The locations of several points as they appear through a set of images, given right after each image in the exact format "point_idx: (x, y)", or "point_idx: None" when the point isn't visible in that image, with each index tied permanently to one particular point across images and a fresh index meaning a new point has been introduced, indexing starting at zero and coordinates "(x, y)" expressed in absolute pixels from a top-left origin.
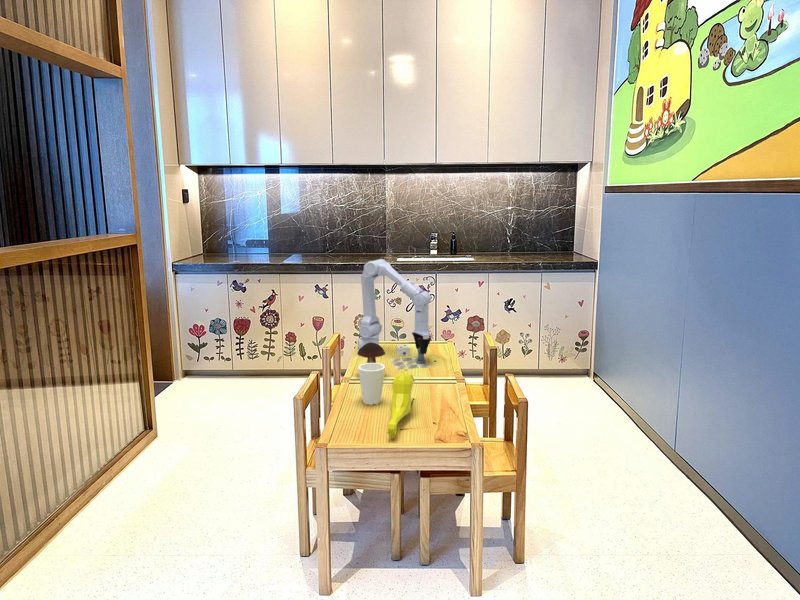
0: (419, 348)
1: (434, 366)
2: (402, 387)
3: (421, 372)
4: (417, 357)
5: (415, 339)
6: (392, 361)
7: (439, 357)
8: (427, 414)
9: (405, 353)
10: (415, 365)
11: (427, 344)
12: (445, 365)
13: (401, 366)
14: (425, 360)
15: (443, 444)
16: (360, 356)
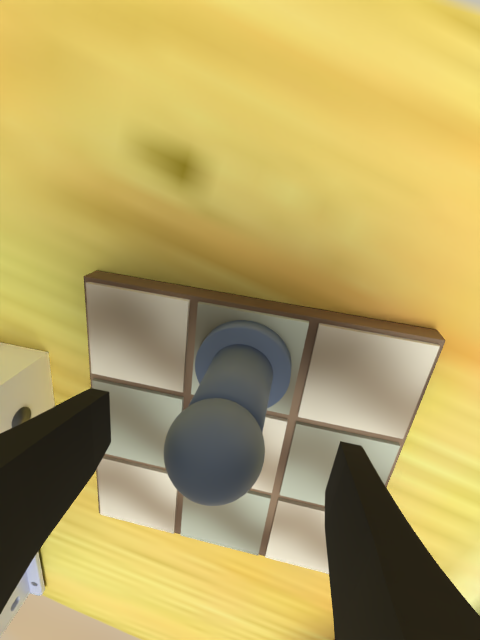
0: (220, 504)
1: (345, 253)
2: None
3: (448, 433)
4: (95, 328)
5: (9, 590)
6: (157, 523)
7: (56, 48)
8: None
9: (21, 409)
10: (317, 442)
11: (467, 630)
12: (372, 107)
13: (294, 530)
14: (263, 337)
15: None
16: (24, 599)
